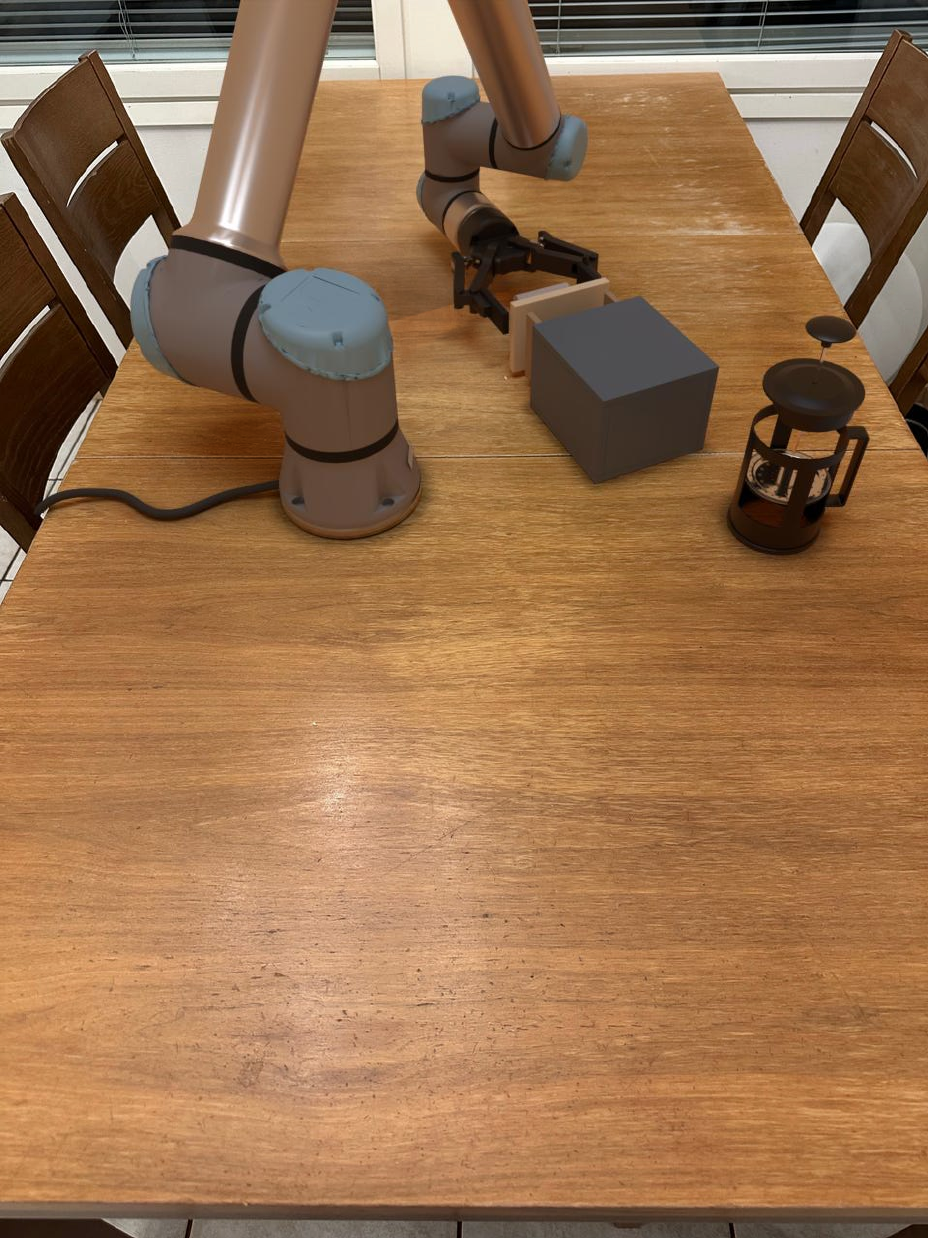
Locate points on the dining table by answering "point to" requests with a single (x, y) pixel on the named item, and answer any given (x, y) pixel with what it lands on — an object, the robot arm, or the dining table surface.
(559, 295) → the drawer
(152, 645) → the dining table surface
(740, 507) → the french press
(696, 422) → the cabinet
